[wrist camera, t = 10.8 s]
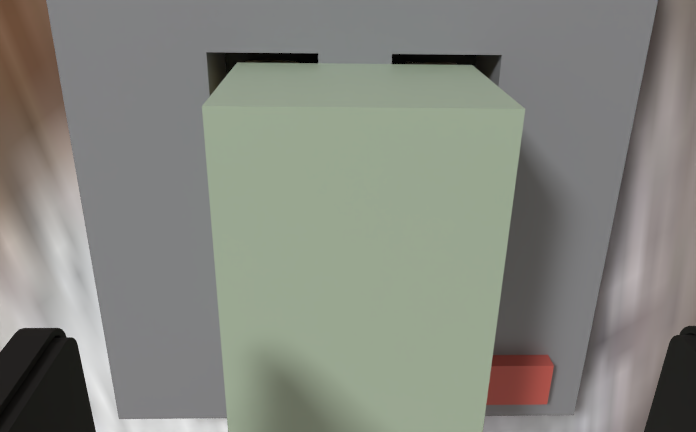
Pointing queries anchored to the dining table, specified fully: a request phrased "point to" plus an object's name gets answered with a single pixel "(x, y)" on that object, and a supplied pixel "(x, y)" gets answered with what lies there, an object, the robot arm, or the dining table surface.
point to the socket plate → (340, 48)
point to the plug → (359, 242)
